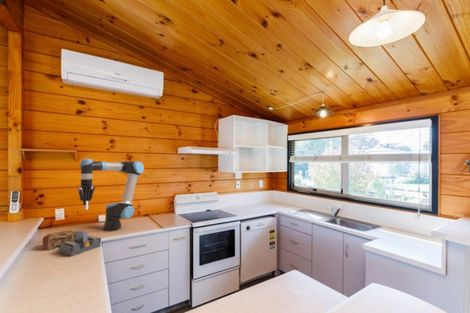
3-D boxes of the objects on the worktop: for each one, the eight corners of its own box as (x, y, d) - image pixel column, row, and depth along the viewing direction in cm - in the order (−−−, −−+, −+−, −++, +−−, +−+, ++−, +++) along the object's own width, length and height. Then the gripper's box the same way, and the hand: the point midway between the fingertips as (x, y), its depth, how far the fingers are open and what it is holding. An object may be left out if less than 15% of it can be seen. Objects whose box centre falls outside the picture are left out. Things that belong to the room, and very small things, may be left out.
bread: (47, 250, 164) (47, 236, 164) (41, 247, 170) (42, 233, 170) (77, 243, 180) (77, 230, 180) (71, 240, 186) (71, 227, 186)
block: (87, 245, 167) (87, 231, 167) (83, 247, 164) (83, 232, 165) (79, 243, 171) (79, 229, 171) (74, 245, 168) (75, 230, 168)
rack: (88, 243, 180) (89, 234, 180) (101, 246, 174) (101, 236, 174) (59, 253, 160) (59, 242, 161) (71, 256, 155) (72, 246, 155)
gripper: (91, 178, 189) (90, 207, 189) (74, 179, 177) (74, 210, 177) (97, 178, 186) (97, 208, 186) (81, 179, 174) (81, 211, 174)
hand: (86, 209), depth 182 cm, fingers closed
